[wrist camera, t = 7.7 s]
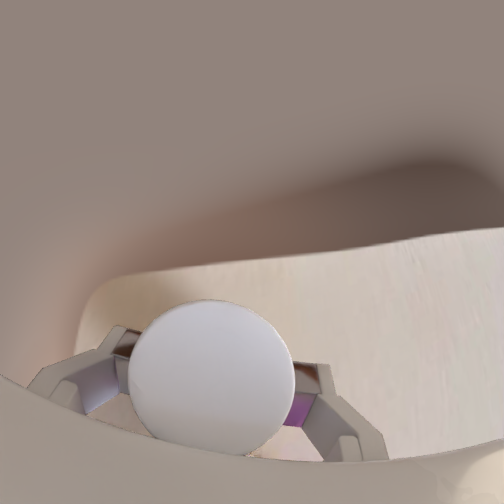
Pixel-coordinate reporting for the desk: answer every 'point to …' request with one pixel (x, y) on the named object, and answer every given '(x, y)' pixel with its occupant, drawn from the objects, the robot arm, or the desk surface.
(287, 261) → the desk surface
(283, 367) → the supplement bottle
